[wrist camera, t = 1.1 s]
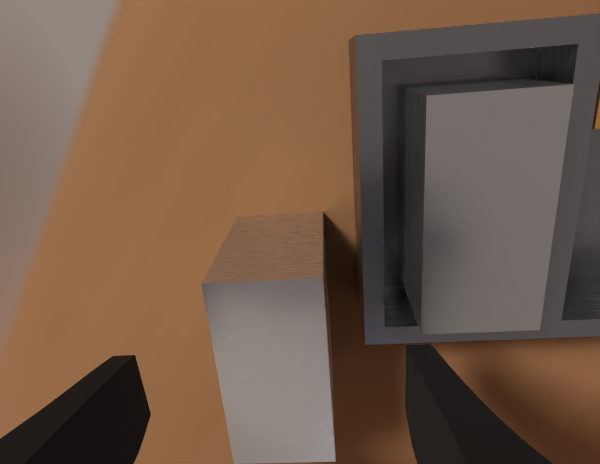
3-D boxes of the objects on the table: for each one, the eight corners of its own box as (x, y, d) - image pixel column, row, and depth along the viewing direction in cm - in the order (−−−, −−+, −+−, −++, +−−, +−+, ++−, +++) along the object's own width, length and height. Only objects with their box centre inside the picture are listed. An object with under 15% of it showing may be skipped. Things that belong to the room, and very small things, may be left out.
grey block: (332, 354, 17) (335, 461, 13) (257, 356, 18) (234, 463, 13) (323, 210, 15) (322, 278, 11) (237, 216, 15) (201, 283, 11)
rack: (672, 281, 15) (802, 364, 11) (358, 295, 16) (370, 377, 12) (744, 5, 12) (961, -23, 8) (348, 40, 13) (360, 31, 9)
